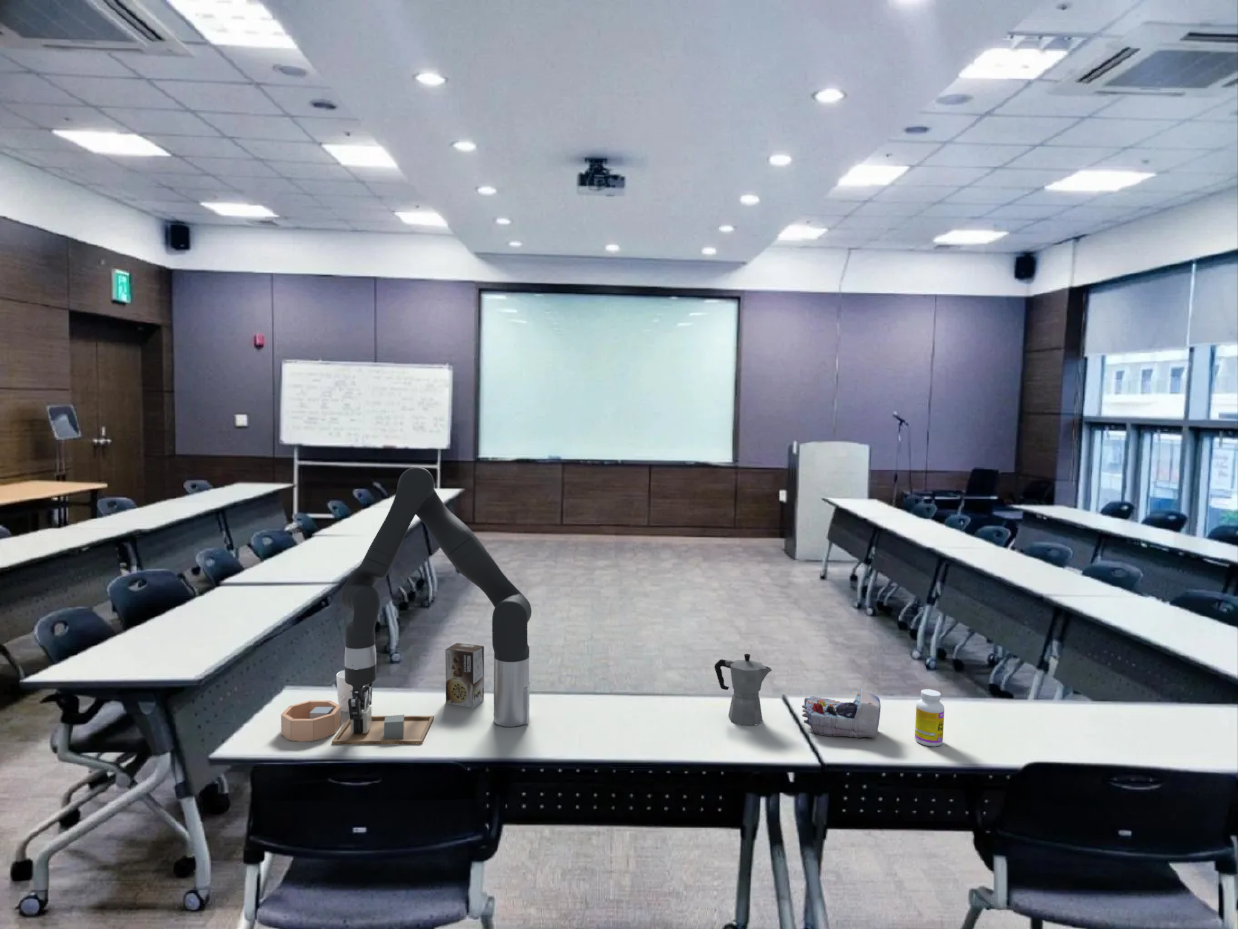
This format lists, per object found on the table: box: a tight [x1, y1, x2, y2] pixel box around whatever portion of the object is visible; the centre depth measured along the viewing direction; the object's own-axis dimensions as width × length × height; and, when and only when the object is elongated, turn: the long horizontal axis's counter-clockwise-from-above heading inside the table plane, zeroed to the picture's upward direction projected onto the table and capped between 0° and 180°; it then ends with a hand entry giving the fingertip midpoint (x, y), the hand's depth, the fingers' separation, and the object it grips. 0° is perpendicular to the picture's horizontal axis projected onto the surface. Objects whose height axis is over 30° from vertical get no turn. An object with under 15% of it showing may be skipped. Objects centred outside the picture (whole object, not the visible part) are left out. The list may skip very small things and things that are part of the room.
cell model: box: [801, 688, 881, 739], centre depth 201 cm, size 13×11×20 cm
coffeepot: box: [714, 653, 772, 727], centre depth 207 cm, size 15×9×18 cm, turn 70°
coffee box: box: [444, 642, 485, 708], centre depth 214 cm, size 9×6×16 cm
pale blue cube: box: [310, 707, 333, 719], centre depth 194 cm, size 4×4×5 cm
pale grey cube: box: [350, 706, 373, 733], centre depth 193 cm, size 4×4×5 cm
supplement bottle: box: [914, 688, 945, 747], centre depth 195 cm, size 7×7×13 cm
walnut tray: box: [331, 715, 435, 746], centre depth 194 cm, size 22×16×1 cm
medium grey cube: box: [384, 714, 405, 740], centre depth 191 cm, size 5×4×4 cm
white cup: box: [336, 669, 353, 713], centre depth 209 cm, size 8×8×10 cm
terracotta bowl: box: [280, 700, 342, 742], centre depth 193 cm, size 13×13×6 cm
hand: (361, 729), depth 193 cm, fingers closed on pale grey cube, 4 cm apart
